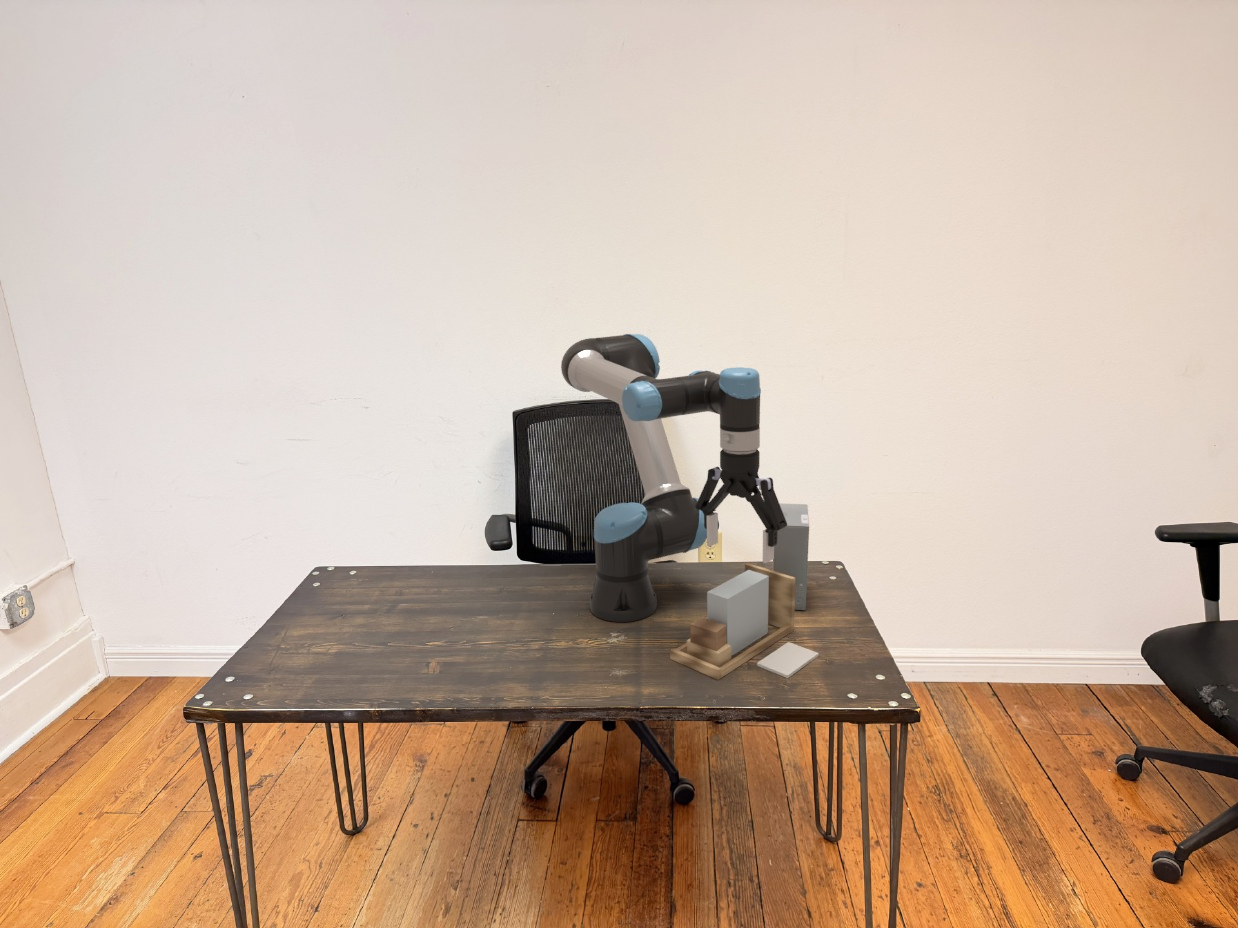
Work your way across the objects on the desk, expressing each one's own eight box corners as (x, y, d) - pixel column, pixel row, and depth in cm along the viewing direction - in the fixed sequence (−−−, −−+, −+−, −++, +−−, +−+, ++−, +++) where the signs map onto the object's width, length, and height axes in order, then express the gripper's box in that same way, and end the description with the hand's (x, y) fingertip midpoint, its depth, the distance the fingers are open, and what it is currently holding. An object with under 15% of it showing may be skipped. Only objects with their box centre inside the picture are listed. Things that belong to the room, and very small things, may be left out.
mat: (756, 665, 159) (756, 662, 159) (788, 644, 167) (788, 641, 167) (787, 678, 154) (787, 675, 154) (818, 655, 162) (818, 653, 162)
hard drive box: (806, 611, 180) (809, 526, 175) (771, 609, 182) (772, 525, 176) (805, 582, 195) (807, 503, 189) (772, 580, 196) (774, 502, 191)
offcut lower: (687, 657, 163) (686, 640, 162) (699, 650, 166) (699, 632, 165) (718, 672, 158) (718, 653, 157) (731, 664, 161) (731, 645, 159)
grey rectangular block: (707, 650, 166) (707, 591, 162) (748, 625, 175) (748, 569, 172) (727, 658, 162) (727, 598, 159) (767, 632, 172) (768, 575, 168)
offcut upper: (690, 642, 161) (690, 623, 160) (700, 635, 164) (700, 617, 163) (716, 651, 158) (716, 632, 157) (726, 643, 160) (726, 625, 159)
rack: (670, 658, 163) (669, 603, 160) (747, 613, 181) (747, 562, 177) (718, 679, 155) (718, 622, 151) (793, 629, 172) (795, 577, 169)
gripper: (677, 443, 163) (679, 543, 169) (784, 464, 146) (782, 574, 152) (701, 436, 168) (702, 533, 174) (806, 455, 151) (804, 561, 157)
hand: (739, 552), depth 163 cm, fingers open, 13 cm apart
